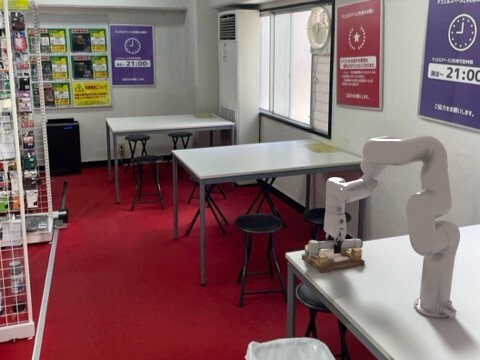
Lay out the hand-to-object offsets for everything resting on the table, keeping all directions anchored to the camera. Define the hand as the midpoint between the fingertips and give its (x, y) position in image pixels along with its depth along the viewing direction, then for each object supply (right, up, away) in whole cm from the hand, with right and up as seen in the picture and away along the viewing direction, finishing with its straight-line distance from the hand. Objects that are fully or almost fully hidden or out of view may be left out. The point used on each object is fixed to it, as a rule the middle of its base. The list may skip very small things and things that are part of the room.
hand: (333, 250), depth 208 cm
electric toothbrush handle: (0, -1, 0) cm, 1 cm away
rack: (0, -5, +1) cm, 5 cm away
